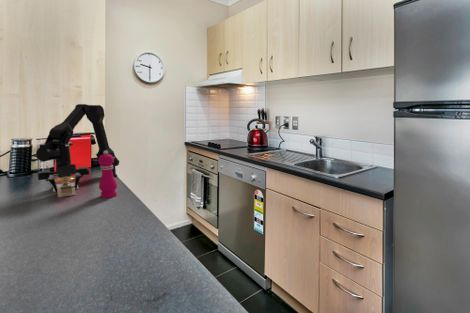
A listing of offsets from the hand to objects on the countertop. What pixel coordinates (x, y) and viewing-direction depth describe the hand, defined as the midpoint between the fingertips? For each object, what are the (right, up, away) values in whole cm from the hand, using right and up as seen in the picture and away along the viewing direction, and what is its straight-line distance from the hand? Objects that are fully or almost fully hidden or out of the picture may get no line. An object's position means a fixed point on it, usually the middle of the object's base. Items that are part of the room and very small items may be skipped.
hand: (66, 191), depth 122 cm
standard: (-6, +1, +9) cm, 11 cm away
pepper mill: (+20, -2, -2) cm, 20 cm away
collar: (0, -1, 0) cm, 1 cm away
